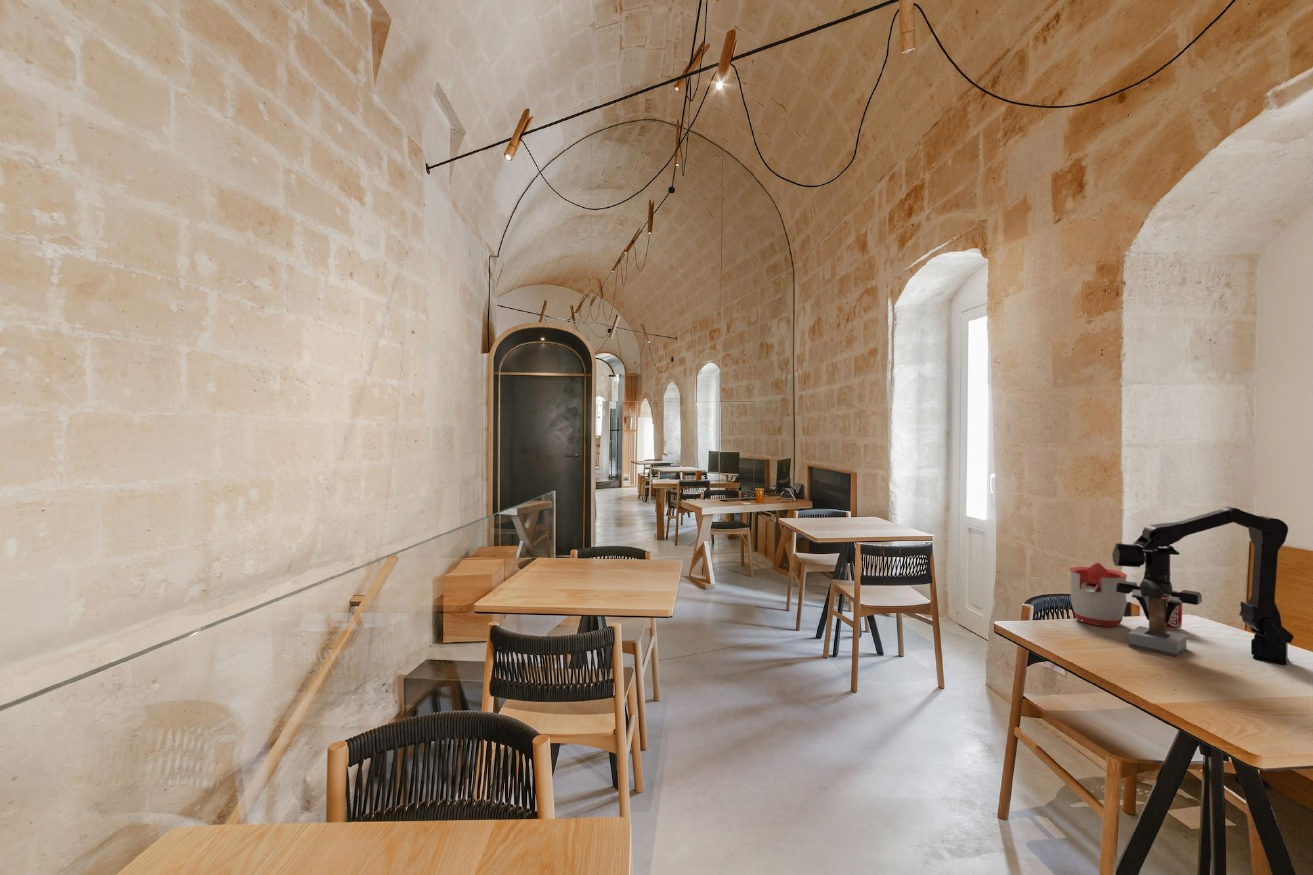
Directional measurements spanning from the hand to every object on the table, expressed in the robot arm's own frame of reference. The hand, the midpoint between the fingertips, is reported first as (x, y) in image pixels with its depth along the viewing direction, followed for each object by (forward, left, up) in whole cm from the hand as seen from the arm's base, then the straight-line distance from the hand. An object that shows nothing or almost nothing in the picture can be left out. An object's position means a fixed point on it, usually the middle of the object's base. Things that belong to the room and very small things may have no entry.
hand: (1157, 621), depth 175 cm
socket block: (0, 0, -8) cm, 8 cm away
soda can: (+3, -27, -8) cm, 28 cm away
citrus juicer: (+19, -15, -8) cm, 26 cm away
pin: (0, 0, -3) cm, 3 cm away
